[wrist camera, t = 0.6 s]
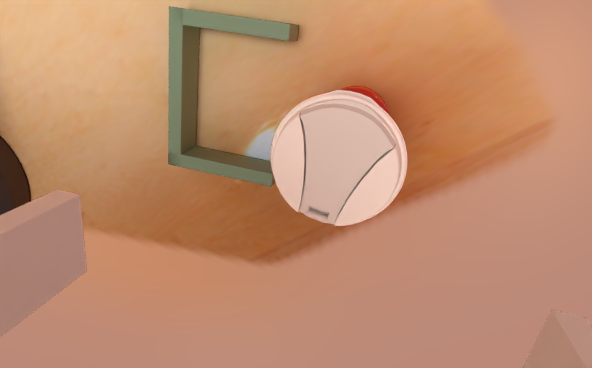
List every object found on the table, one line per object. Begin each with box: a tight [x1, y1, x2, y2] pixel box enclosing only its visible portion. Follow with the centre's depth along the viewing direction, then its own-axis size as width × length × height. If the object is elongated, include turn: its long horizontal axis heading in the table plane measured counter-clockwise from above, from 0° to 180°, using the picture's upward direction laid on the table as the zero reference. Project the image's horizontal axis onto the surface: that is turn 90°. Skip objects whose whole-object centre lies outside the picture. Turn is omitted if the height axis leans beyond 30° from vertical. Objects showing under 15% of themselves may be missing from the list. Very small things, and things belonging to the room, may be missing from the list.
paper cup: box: [271, 86, 407, 226], centre depth 26 cm, size 8×8×14 cm
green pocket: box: [168, 6, 299, 186], centre depth 33 cm, size 10×13×3 cm
